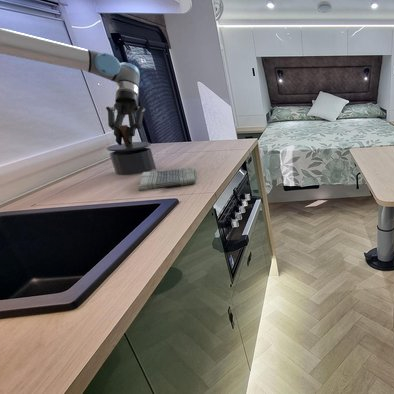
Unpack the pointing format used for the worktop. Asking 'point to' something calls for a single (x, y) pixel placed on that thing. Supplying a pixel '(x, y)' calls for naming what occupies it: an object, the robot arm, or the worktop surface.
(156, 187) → the dish towel
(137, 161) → the pot
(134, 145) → the pot lid
